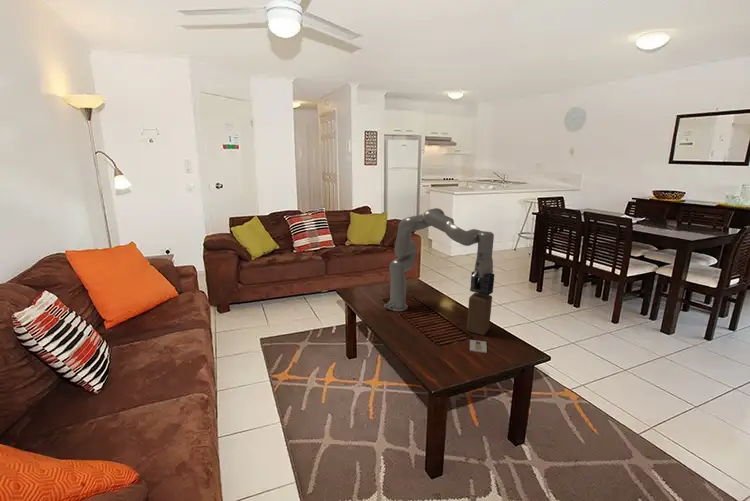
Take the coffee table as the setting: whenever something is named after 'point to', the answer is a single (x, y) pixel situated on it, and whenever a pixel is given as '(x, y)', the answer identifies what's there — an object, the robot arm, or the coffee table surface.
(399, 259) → the robot arm
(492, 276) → the small box
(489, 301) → the wooden block
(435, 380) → the coffee table surface
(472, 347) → the card
